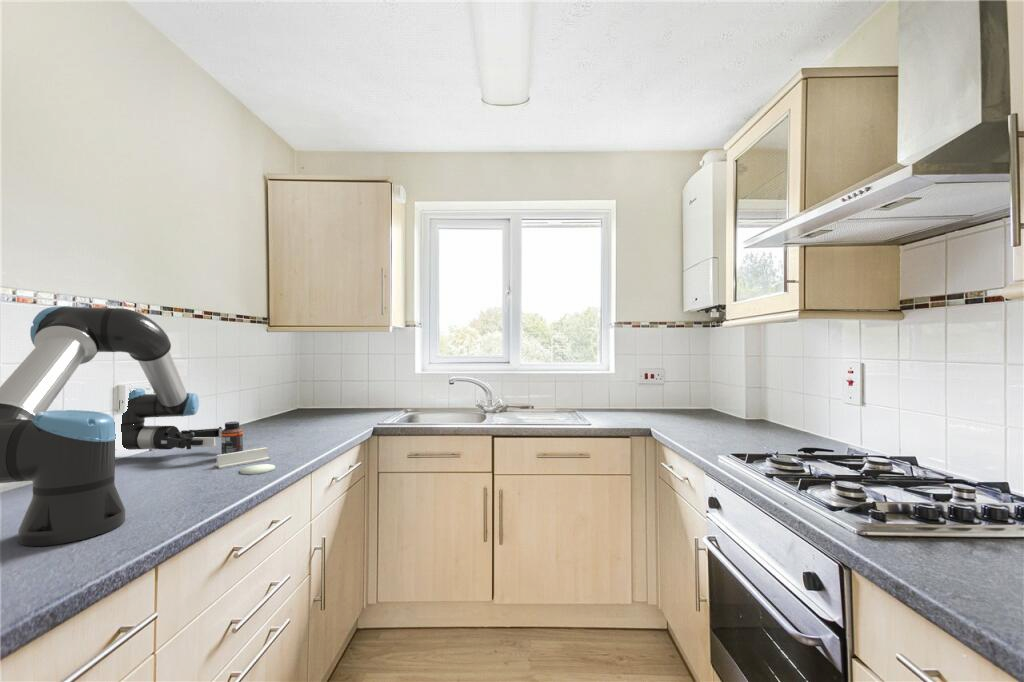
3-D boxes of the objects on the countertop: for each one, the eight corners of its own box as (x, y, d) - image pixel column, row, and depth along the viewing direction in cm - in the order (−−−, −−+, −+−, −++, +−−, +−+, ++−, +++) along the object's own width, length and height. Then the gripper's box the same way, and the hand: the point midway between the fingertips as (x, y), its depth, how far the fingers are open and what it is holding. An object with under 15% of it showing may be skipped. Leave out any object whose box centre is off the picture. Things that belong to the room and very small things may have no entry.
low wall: (270, 459, 143) (270, 448, 143) (219, 468, 133) (219, 456, 133) (264, 457, 146) (264, 446, 146) (214, 465, 136) (214, 454, 136)
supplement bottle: (241, 454, 150) (241, 420, 150) (244, 457, 146) (244, 422, 146) (219, 456, 146) (220, 422, 147) (222, 460, 142) (222, 424, 142)
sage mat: (280, 469, 132) (280, 468, 132) (246, 476, 125) (246, 474, 125) (268, 464, 138) (268, 462, 138) (235, 470, 131) (235, 468, 131)
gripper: (186, 440, 158) (248, 440, 159) (129, 459, 133) (202, 458, 134) (186, 419, 158) (248, 419, 159) (129, 433, 133) (203, 433, 134)
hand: (227, 437), depth 147 cm, fingers open, 13 cm apart
